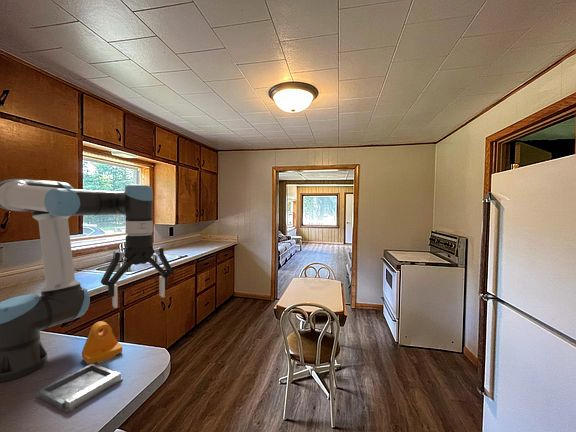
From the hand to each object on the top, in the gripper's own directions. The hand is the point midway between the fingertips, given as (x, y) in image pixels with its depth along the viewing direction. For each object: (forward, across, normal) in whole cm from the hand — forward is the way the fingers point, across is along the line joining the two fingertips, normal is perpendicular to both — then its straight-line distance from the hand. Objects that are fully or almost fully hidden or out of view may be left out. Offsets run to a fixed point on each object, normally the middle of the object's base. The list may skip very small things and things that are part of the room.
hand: (139, 301), depth 86 cm
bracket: (+25, -6, +22) cm, 34 cm away
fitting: (+25, -14, +7) cm, 29 cm away
